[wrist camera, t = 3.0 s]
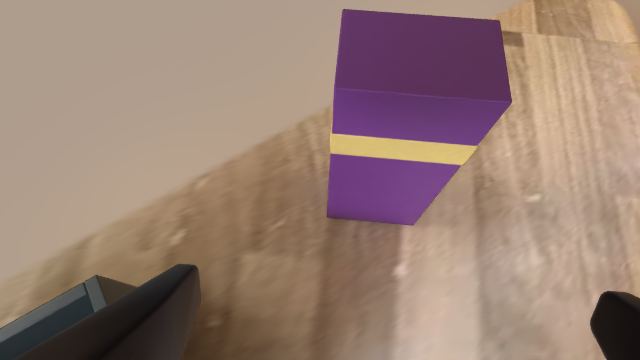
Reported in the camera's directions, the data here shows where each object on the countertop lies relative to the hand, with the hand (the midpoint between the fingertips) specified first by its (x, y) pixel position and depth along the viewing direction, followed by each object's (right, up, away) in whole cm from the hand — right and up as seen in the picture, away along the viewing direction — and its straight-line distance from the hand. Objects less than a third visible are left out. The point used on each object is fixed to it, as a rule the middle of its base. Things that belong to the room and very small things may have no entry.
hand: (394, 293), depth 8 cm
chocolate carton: (+2, +1, +16) cm, 16 cm away
